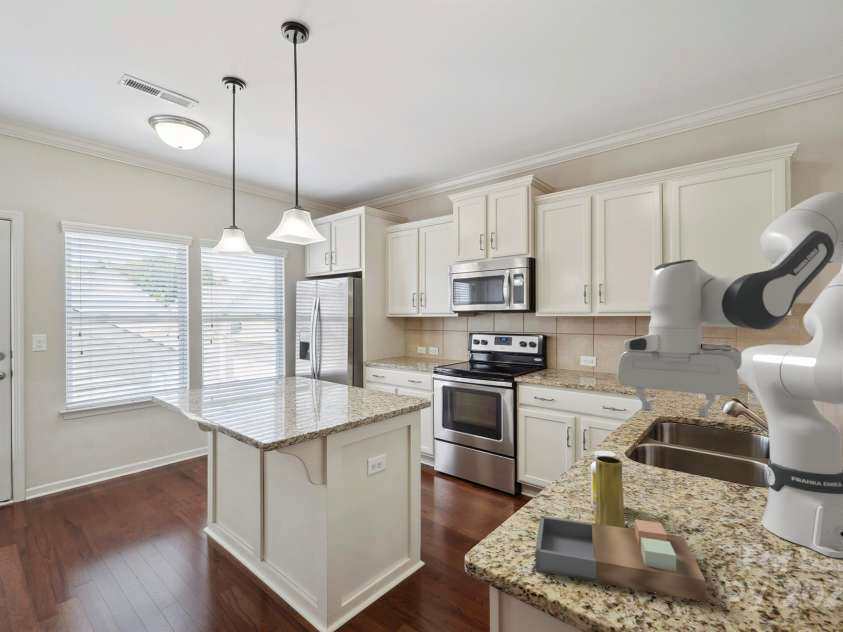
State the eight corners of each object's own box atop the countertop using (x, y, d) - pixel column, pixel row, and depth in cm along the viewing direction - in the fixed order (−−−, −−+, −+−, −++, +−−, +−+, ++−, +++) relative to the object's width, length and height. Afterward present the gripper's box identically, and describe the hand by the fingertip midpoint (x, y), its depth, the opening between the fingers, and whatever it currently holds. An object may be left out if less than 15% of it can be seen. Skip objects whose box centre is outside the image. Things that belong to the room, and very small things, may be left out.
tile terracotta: (661, 536, 78) (661, 523, 78) (666, 548, 74) (666, 534, 74) (635, 532, 80) (634, 519, 80) (638, 544, 76) (638, 530, 76)
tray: (591, 540, 84) (591, 523, 84) (596, 581, 70) (595, 561, 70) (540, 532, 87) (540, 515, 87) (535, 570, 74) (535, 550, 74)
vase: (612, 535, 86) (611, 466, 86) (588, 522, 91) (587, 457, 91) (631, 527, 88) (630, 461, 89) (607, 516, 94) (606, 453, 94)
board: (682, 554, 78) (682, 536, 78) (705, 602, 65) (705, 580, 65) (591, 540, 84) (591, 523, 84) (596, 581, 70) (595, 561, 70)
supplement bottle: (625, 515, 94) (624, 458, 94) (594, 512, 96) (593, 457, 96) (617, 502, 101) (616, 449, 101) (588, 500, 102) (587, 448, 102)
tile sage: (669, 556, 72) (669, 541, 72) (676, 571, 68) (676, 555, 68) (641, 551, 73) (640, 537, 73) (645, 565, 69) (645, 550, 69)
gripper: (741, 344, 77) (741, 419, 77) (621, 340, 89) (621, 404, 89) (741, 346, 72) (741, 425, 72) (615, 341, 84) (614, 409, 84)
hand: (674, 413), depth 80 cm, fingers open, 8 cm apart
